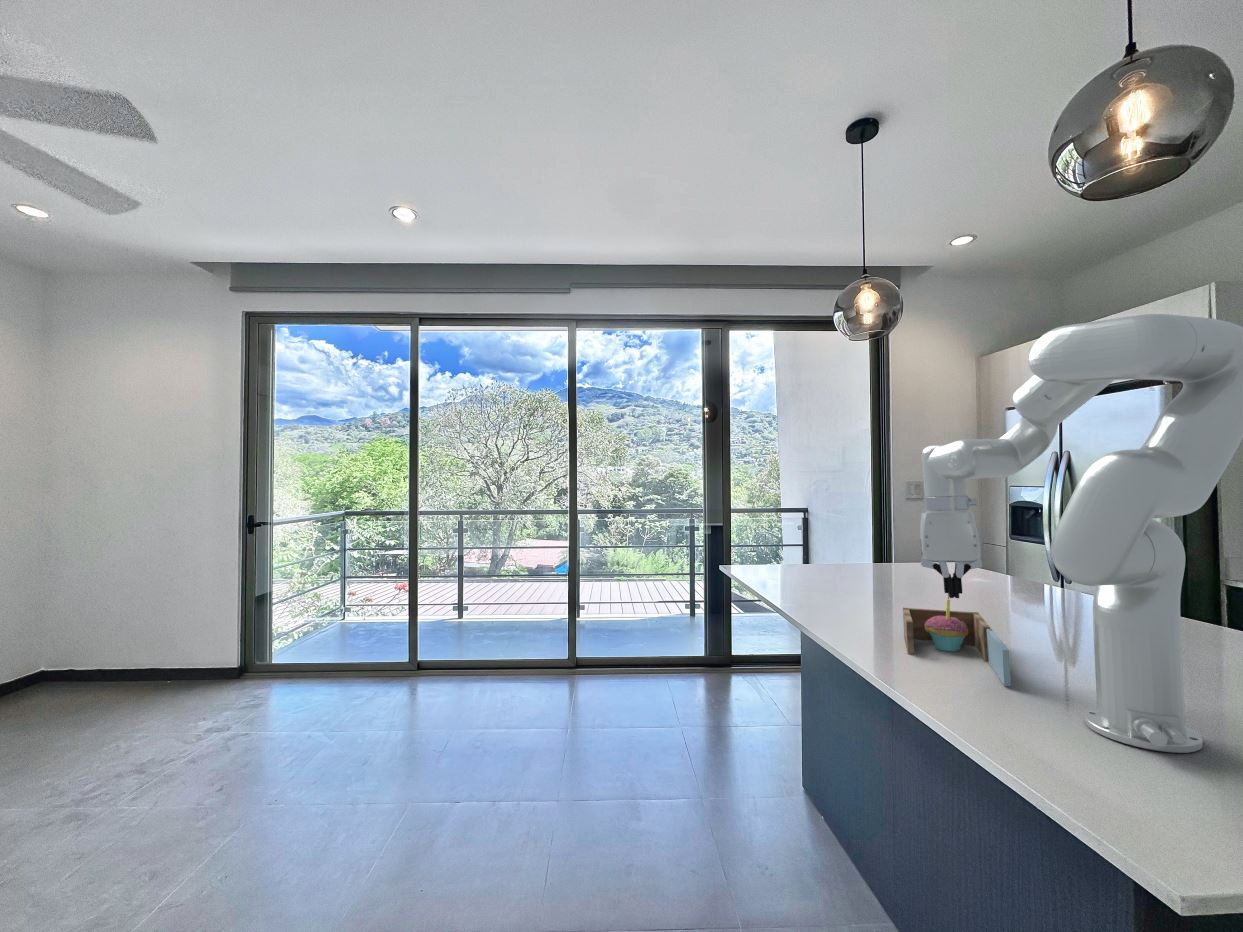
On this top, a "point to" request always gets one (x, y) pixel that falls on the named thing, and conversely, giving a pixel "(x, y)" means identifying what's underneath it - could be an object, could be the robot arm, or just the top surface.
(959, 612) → the wooden box
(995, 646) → the blue grey rectangular panel
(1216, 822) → the top surface
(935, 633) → the cupcake
